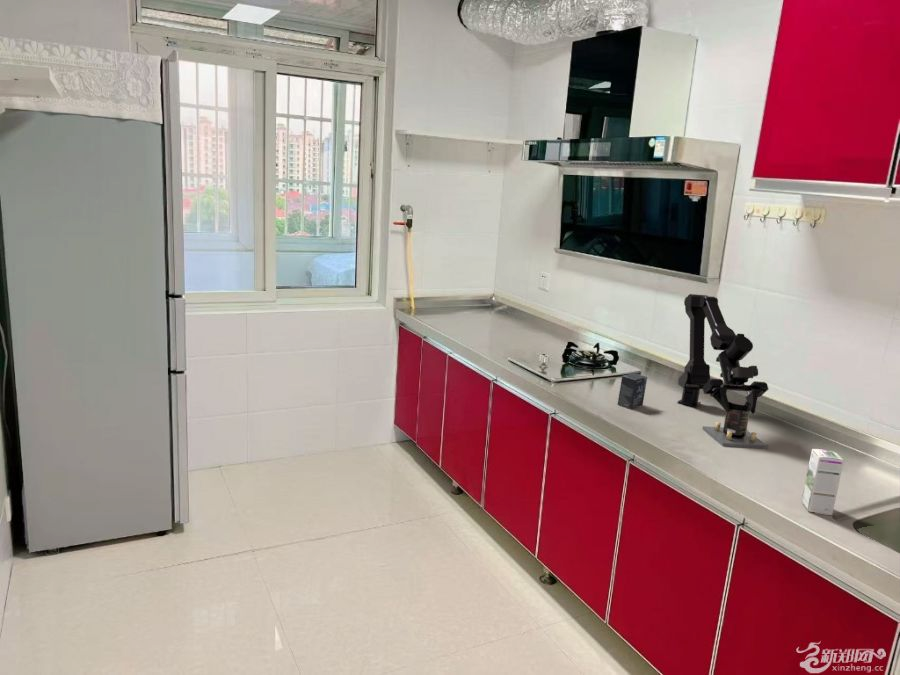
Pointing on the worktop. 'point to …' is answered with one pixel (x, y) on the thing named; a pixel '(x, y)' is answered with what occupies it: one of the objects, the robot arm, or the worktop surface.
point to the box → (632, 390)
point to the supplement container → (737, 418)
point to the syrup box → (822, 481)
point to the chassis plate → (734, 438)
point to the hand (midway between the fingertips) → (741, 412)
